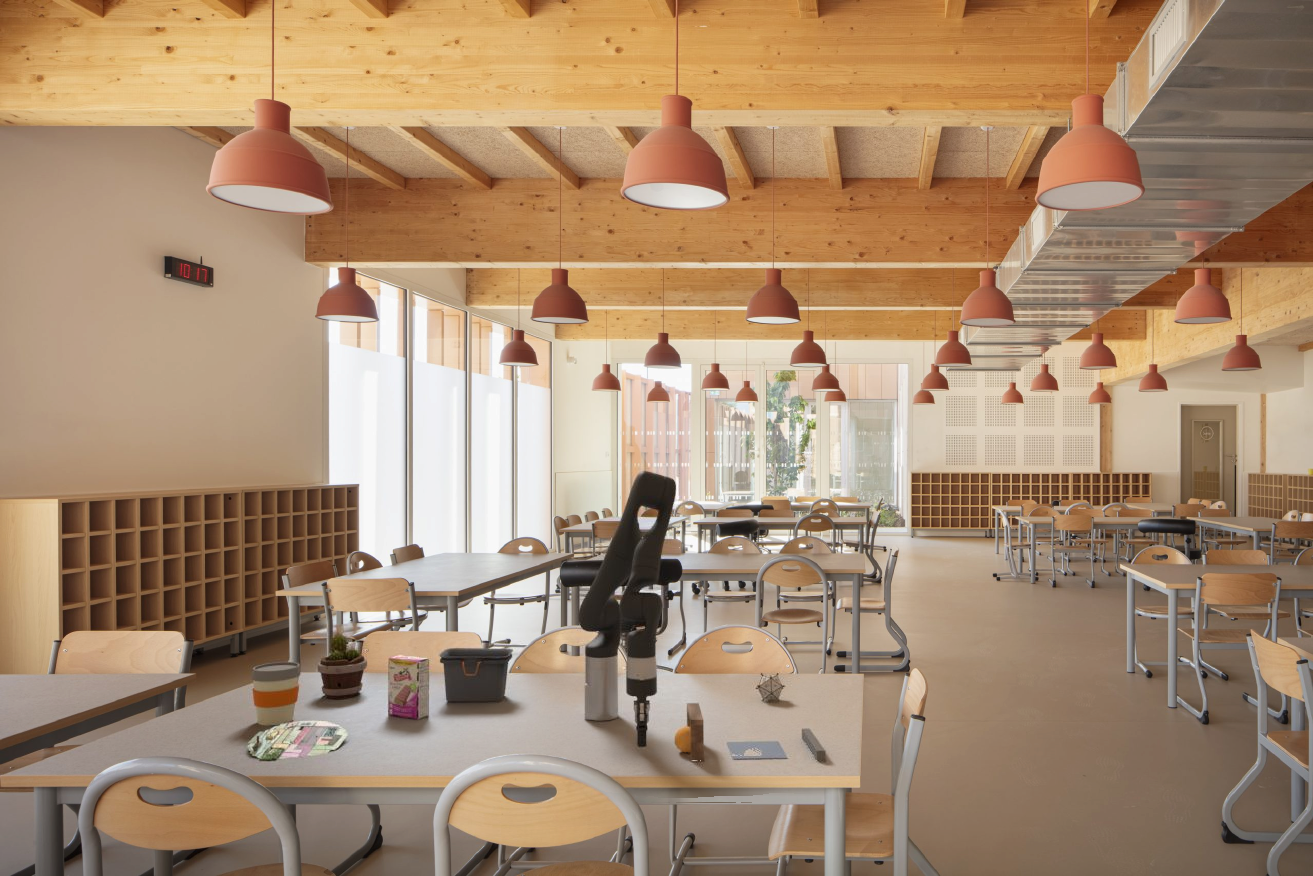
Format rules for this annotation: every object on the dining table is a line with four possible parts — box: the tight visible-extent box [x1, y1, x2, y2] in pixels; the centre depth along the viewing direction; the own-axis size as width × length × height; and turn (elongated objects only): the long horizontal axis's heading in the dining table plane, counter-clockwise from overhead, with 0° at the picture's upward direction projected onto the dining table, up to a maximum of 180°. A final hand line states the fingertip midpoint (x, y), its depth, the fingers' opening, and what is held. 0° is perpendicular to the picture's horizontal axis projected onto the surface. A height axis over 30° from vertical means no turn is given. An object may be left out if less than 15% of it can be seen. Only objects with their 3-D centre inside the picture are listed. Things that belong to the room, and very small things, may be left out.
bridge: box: [686, 702, 705, 762], centre depth 210 cm, size 3×15×10 cm, turn 2°
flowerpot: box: [316, 631, 368, 700], centre depth 268 cm, size 14×15×20 cm
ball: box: [674, 726, 691, 753], centre depth 209 cm, size 6×6×6 cm
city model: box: [247, 720, 349, 761], centre depth 216 cm, size 25×24×6 cm
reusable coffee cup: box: [251, 661, 302, 726], centre depth 240 cm, size 12×12×15 cm
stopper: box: [801, 728, 826, 762], centre depth 210 cm, size 2×18×2 cm, turn 2°
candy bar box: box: [387, 654, 430, 720], centre depth 244 cm, size 11×5×16 cm, turn 65°
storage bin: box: [438, 647, 514, 703], centre depth 261 cm, size 21×16×14 cm
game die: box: [755, 672, 786, 702], centre depth 257 cm, size 9×8×10 cm
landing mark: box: [726, 740, 788, 760], centre depth 210 cm, size 13×13×1 cm
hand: (641, 746), depth 209 cm, fingers closed
